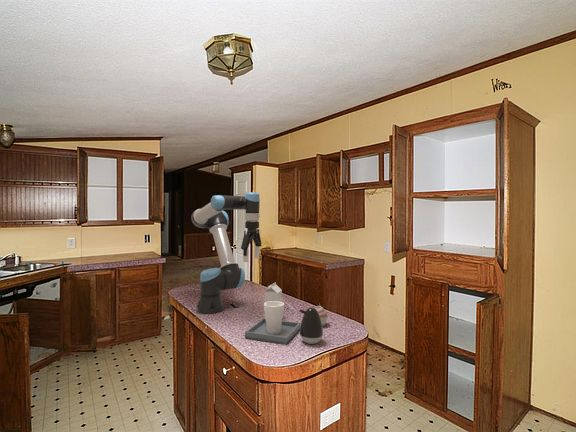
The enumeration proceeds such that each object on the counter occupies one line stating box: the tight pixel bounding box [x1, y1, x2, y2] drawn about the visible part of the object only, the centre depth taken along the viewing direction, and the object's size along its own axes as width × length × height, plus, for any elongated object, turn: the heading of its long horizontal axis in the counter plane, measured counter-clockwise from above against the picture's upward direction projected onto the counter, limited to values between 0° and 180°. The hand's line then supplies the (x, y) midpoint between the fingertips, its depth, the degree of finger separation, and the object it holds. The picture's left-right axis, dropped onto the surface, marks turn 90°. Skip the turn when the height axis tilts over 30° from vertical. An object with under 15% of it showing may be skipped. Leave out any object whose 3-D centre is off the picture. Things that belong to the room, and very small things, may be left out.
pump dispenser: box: [299, 306, 324, 345], centre depth 146 cm, size 10×10×15 cm
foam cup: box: [263, 301, 285, 334], centre depth 155 cm, size 10×9×13 cm
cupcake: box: [314, 305, 329, 327], centre depth 167 cm, size 9×9×10 cm
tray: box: [244, 317, 301, 346], centre depth 155 cm, size 20×20×3 cm
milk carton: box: [264, 282, 283, 319], centre depth 175 cm, size 7×7×19 cm
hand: (251, 260), depth 179 cm, fingers open, 13 cm apart
